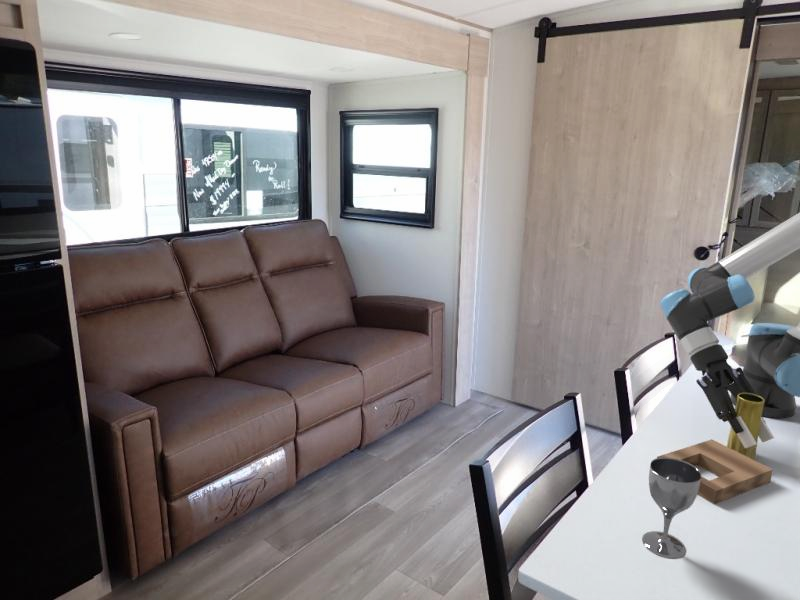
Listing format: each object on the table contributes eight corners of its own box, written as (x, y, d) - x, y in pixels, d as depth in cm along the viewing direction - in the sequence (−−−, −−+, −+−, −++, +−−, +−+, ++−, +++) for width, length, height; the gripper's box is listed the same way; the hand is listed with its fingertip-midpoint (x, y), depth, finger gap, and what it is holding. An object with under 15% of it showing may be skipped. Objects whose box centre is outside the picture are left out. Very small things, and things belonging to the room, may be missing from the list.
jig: (709, 450, 133) (711, 439, 132) (770, 482, 121) (772, 469, 120) (655, 468, 125) (657, 456, 124) (713, 504, 113) (716, 490, 112)
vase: (760, 462, 128) (771, 404, 124) (730, 459, 129) (740, 401, 125) (749, 449, 134) (760, 392, 130) (721, 446, 135) (731, 390, 131)
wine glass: (667, 565, 96) (680, 487, 92) (629, 537, 103) (640, 463, 99) (698, 551, 100) (712, 475, 96) (660, 525, 107) (671, 453, 103)
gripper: (717, 351, 144) (771, 439, 134) (666, 362, 136) (719, 457, 126) (741, 337, 138) (799, 429, 128) (689, 348, 130) (747, 447, 120)
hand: (759, 443), depth 127 cm, fingers closed on vase, 5 cm apart
